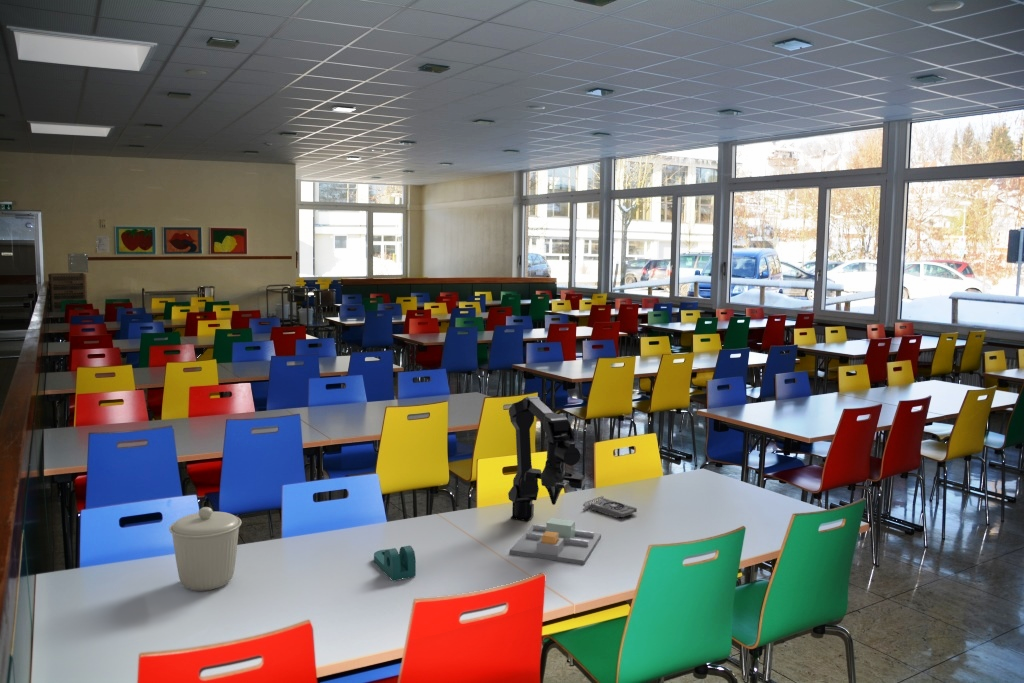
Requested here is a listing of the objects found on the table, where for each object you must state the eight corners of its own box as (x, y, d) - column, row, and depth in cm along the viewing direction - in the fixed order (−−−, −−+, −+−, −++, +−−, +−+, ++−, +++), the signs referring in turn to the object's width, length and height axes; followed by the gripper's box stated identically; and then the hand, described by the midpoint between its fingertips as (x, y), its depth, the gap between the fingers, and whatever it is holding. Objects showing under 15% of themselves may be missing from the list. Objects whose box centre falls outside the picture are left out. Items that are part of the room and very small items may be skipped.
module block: (546, 538, 251) (546, 522, 251) (550, 533, 256) (550, 517, 255) (570, 541, 249) (571, 526, 248) (574, 536, 253) (575, 521, 253)
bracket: (415, 577, 223) (415, 550, 222) (392, 581, 219) (392, 554, 218) (392, 555, 238) (392, 529, 237) (370, 559, 235) (370, 533, 234)
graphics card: (580, 502, 283) (602, 494, 291) (580, 512, 283) (601, 504, 292) (618, 514, 271) (639, 506, 279) (618, 524, 271) (639, 516, 280)
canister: (188, 568, 224) (186, 496, 222) (252, 571, 224) (251, 498, 221) (158, 596, 206) (155, 517, 204) (227, 598, 206) (225, 520, 204)
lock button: (541, 551, 240) (542, 535, 239) (545, 546, 243) (545, 531, 243) (554, 553, 238) (555, 537, 238) (558, 548, 242) (558, 532, 242)
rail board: (509, 553, 241) (510, 540, 240) (532, 528, 263) (533, 515, 263) (584, 564, 234) (584, 550, 233) (601, 537, 256) (601, 524, 256)
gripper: (519, 459, 246) (517, 508, 248) (578, 467, 240) (575, 517, 242) (530, 450, 256) (528, 497, 259) (587, 457, 250) (584, 505, 252)
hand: (553, 504), depth 253 cm, fingers closed
